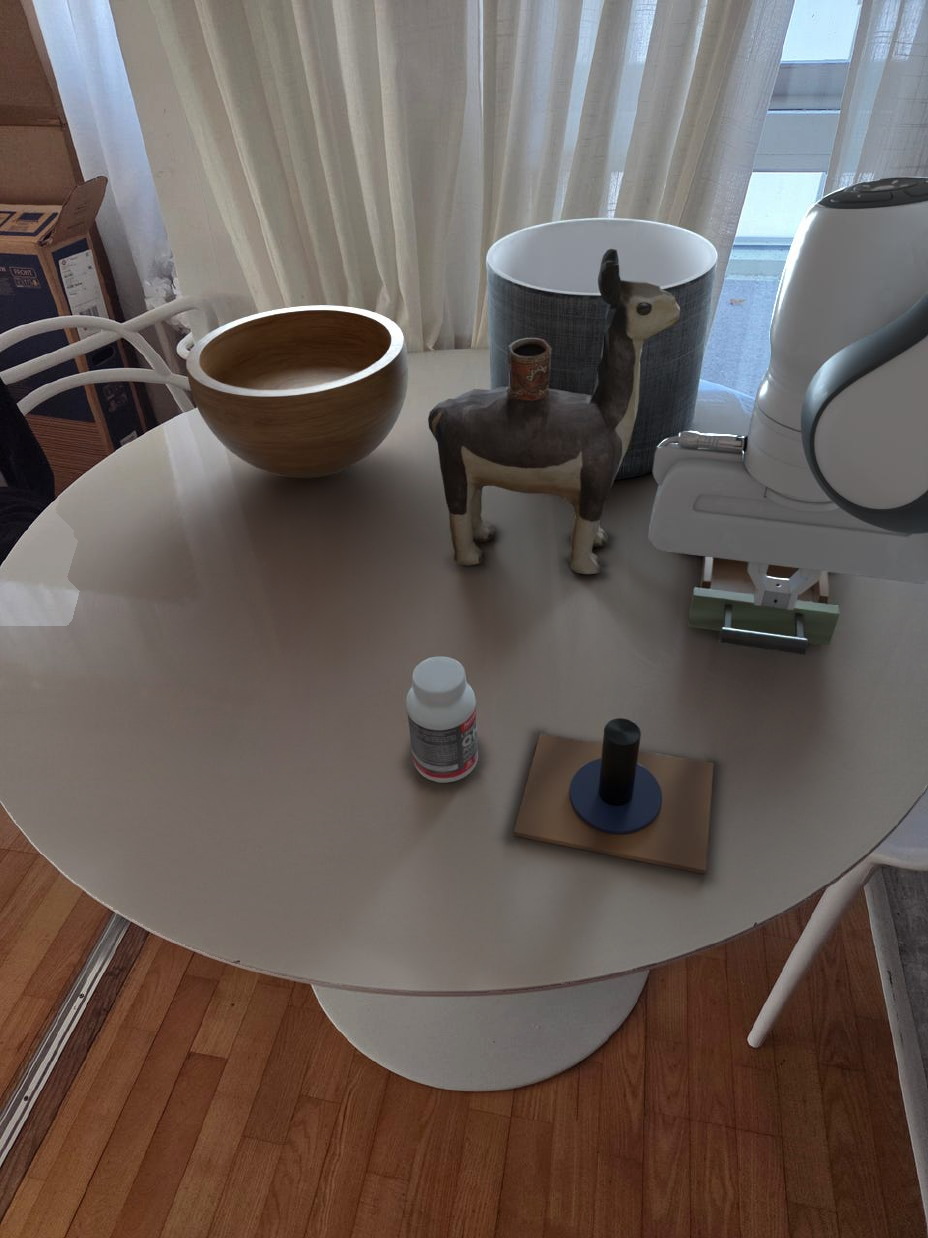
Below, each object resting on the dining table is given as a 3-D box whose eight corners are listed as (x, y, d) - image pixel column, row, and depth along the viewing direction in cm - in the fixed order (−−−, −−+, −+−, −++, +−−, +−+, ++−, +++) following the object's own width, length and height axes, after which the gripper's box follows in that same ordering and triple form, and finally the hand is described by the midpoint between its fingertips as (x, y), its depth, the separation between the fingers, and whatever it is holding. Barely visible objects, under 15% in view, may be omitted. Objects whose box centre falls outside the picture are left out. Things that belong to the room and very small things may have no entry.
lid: (665, 769, 68) (676, 704, 63) (656, 843, 63) (667, 778, 58) (577, 754, 69) (581, 689, 64) (562, 824, 64) (564, 760, 59)
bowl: (450, 481, 102) (442, 361, 92) (246, 543, 95) (213, 419, 85) (373, 398, 120) (359, 290, 110) (195, 445, 112) (163, 333, 102)
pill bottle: (480, 783, 68) (476, 697, 62) (413, 787, 68) (401, 702, 62) (477, 731, 72) (472, 646, 66) (413, 736, 72) (402, 651, 66)
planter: (526, 376, 122) (527, 211, 108) (707, 399, 115) (733, 225, 100) (462, 465, 105) (451, 283, 90) (670, 499, 97) (695, 305, 83)
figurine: (653, 584, 86) (690, 280, 66) (428, 572, 89) (401, 279, 69) (651, 525, 94) (684, 238, 74) (444, 516, 97) (423, 238, 77)
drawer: (831, 682, 73) (842, 650, 71) (683, 660, 76) (689, 629, 74) (823, 551, 87) (832, 520, 85) (698, 537, 90) (703, 506, 88)
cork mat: (712, 767, 68) (713, 762, 68) (705, 874, 61) (706, 870, 61) (539, 737, 71) (540, 733, 71) (513, 836, 64) (513, 832, 64)
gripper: (652, 451, 57) (632, 609, 66) (990, 486, 53) (918, 650, 62) (661, 407, 62) (641, 560, 71) (972, 436, 57) (908, 595, 66)
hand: (773, 602), depth 66 cm, fingers closed
